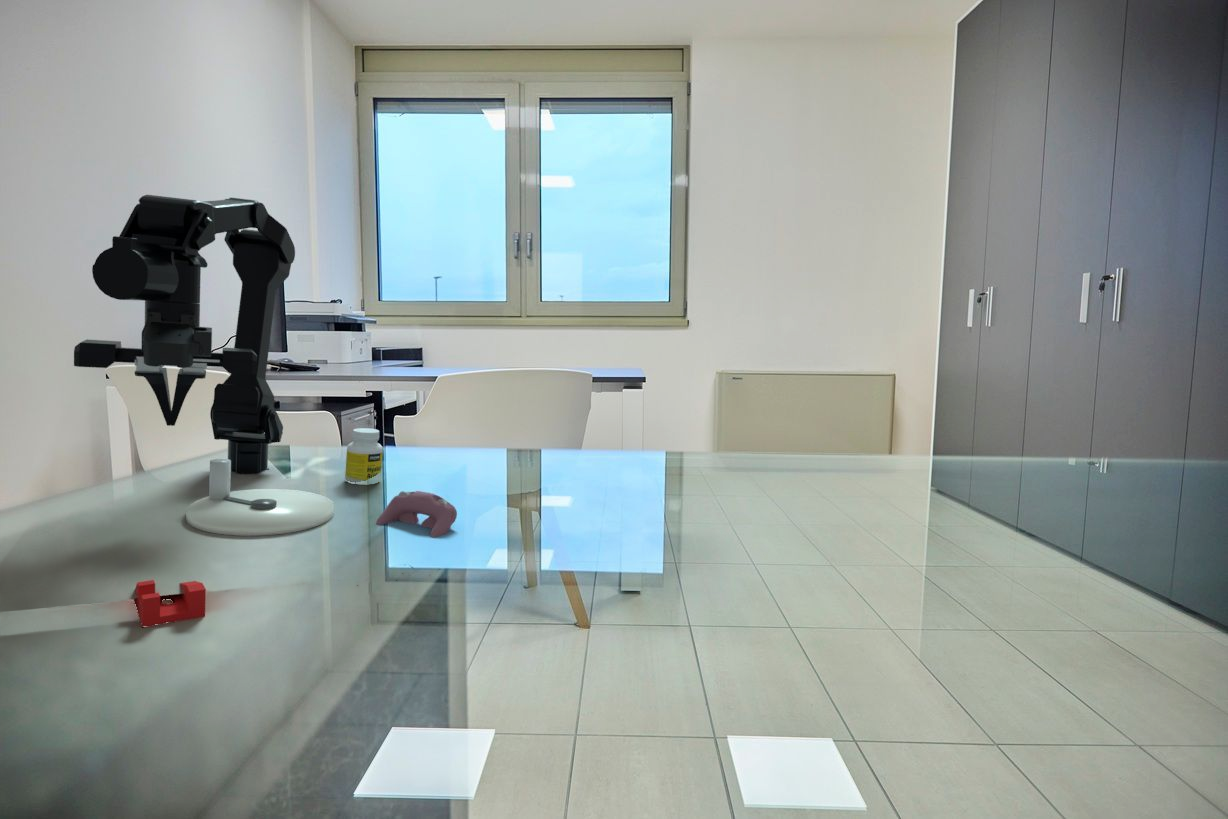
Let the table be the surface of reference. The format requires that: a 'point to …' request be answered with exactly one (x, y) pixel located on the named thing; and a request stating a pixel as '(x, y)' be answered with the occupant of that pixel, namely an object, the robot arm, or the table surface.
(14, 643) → the table surface
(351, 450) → the supplement bottle
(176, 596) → the bracket
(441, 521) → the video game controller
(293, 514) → the dial
